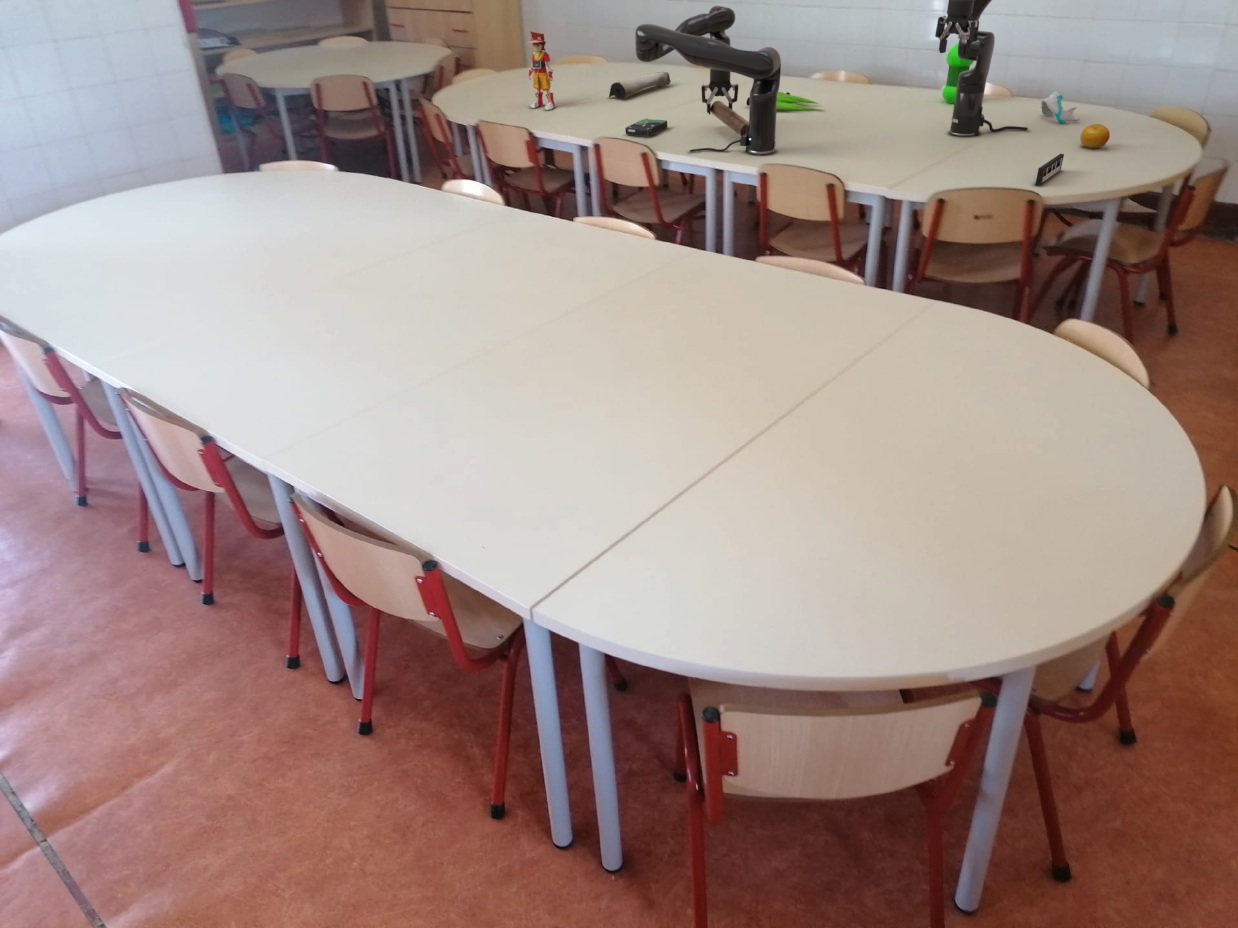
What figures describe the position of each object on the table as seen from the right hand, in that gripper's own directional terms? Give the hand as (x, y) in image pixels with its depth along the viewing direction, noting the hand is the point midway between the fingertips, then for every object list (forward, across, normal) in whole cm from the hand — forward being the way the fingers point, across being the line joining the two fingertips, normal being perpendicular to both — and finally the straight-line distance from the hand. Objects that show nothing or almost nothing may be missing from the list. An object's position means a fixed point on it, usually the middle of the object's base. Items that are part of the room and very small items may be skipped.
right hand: (953, 54), depth 285 cm
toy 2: (+30, -81, +5) cm, 87 cm away
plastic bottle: (+30, -40, +57) cm, 76 cm away
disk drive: (+30, -92, -56) cm, 112 cm away
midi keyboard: (+30, +40, +2) cm, 51 cm away
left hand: (+25, -76, -33) cm, 87 cm away
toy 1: (+30, -156, -66) cm, 172 cm away
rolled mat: (+30, -148, -20) cm, 152 cm away
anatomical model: (+30, +2, +61) cm, 68 cm away
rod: (+28, -66, -36) cm, 80 cm away
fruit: (+30, +30, +39) cm, 58 cm away
